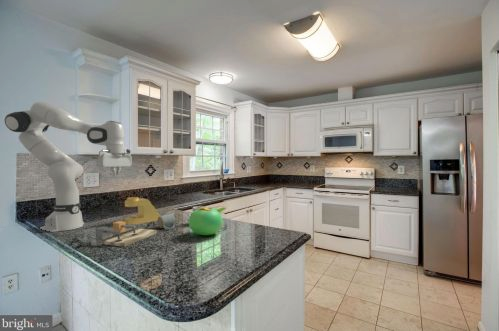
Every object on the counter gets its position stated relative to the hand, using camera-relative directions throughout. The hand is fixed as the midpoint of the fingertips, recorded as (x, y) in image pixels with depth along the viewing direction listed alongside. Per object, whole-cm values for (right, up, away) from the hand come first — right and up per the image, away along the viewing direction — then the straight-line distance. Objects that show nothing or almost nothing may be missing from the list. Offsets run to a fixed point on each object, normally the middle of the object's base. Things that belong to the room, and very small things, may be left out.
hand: (116, 175), depth 136 cm
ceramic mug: (+27, -31, +5) cm, 42 cm away
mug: (+43, -31, +13) cm, 55 cm away
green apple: (+52, -31, -8) cm, 61 cm away
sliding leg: (+11, -29, -12) cm, 33 cm away
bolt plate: (+16, -31, -14) cm, 37 cm away
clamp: (+5, -31, +21) cm, 38 cm away
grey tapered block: (+11, -31, -13) cm, 36 cm away
